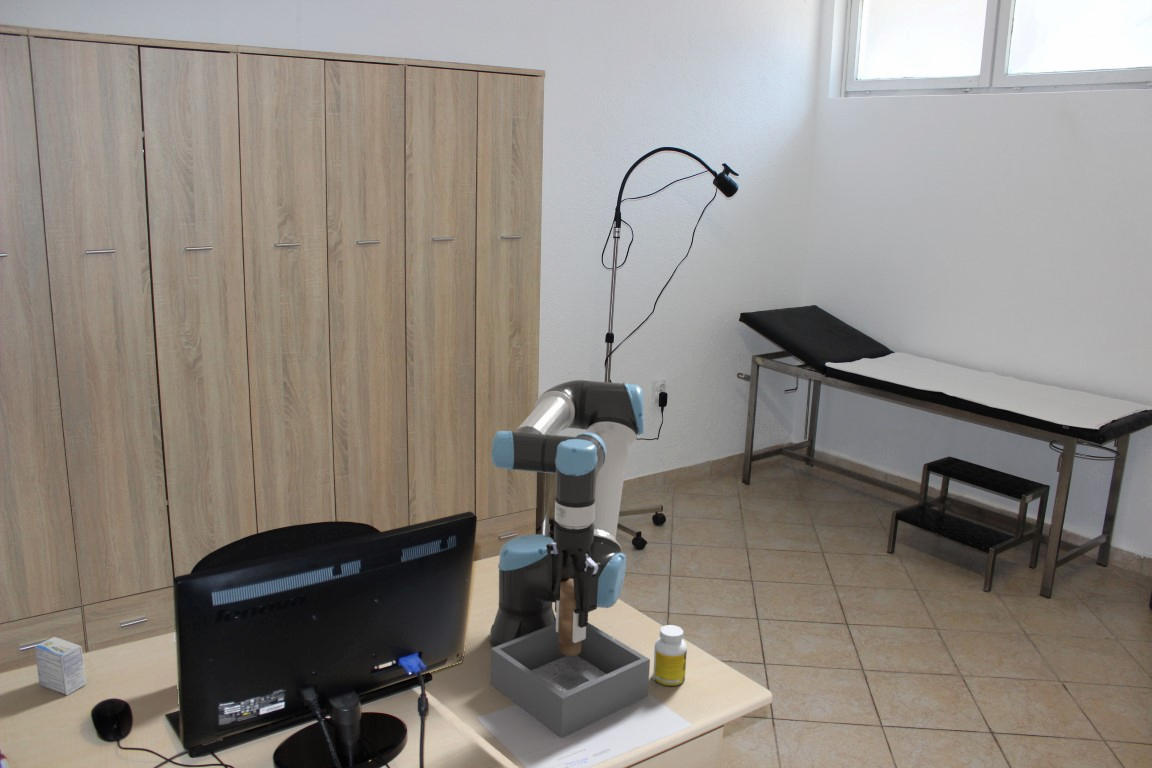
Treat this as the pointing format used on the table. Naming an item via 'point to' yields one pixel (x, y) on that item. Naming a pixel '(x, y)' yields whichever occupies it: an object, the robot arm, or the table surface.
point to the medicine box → (60, 665)
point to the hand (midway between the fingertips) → (570, 634)
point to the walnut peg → (567, 619)
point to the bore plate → (568, 672)
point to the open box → (577, 705)
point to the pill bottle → (670, 657)
